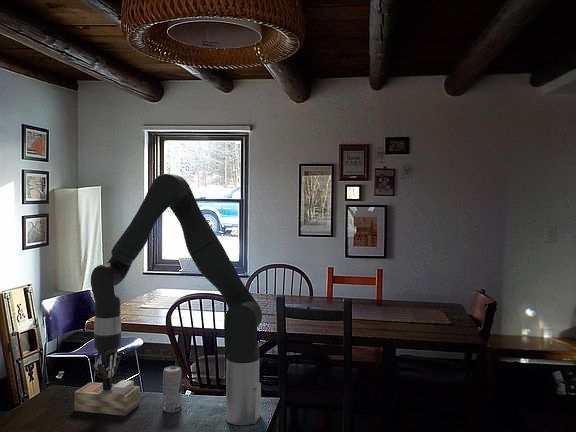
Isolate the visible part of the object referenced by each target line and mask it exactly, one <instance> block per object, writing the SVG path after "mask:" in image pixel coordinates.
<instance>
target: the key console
mask: <svg viewBox="0 0 576 432" xmlns="http://www.w3.org/2000/svg"><path fill="white" fill-rule="evenodd" d="M91 384H99V385H103V382H94V381H93V382H92V381H90V382H89V383H87V384H85V385H84V386H81V387H80V388H79V389H77V390H75V391H74V412H83V413H93V414H94V413H95V414H103V415H104V414H105V415H106V414H107V415H115V416H124V417H125V416H127V415H128V414H130V413H131V412H132V411H134V410H135V409H136V408H137V407H139V406H140V403H141V402H140V400H141V397H140V394H141V393H140V392H141V387H140V386H138V385H134V388H133V389H132V390H131V391H129V392H128V393H127V394H125V395H119V394H113V391H112V392H110V393H109V394H107V393H97V392H98V391H99V390H101V389H102V388H103V386H101V387H100V388H98V389H97V390H95V391H94V392H85V391H82V390H83V389H85V388H86V387H88V386H90V385H91ZM116 384H117V383H112V386H114V385H116Z"/></svg>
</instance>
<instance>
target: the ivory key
mask: <svg viewBox="0 0 576 432" xmlns="http://www.w3.org/2000/svg"><path fill="white" fill-rule="evenodd" d="M134 383H135V382H134V380H125V379H122V380H120V381H119V382H117V383H115V384H116V385H114V386H113V394H119V395H125V394H127V393H128V392H129V391H131V390H132V389H133V388H134V386H135V385H134Z"/></svg>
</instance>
